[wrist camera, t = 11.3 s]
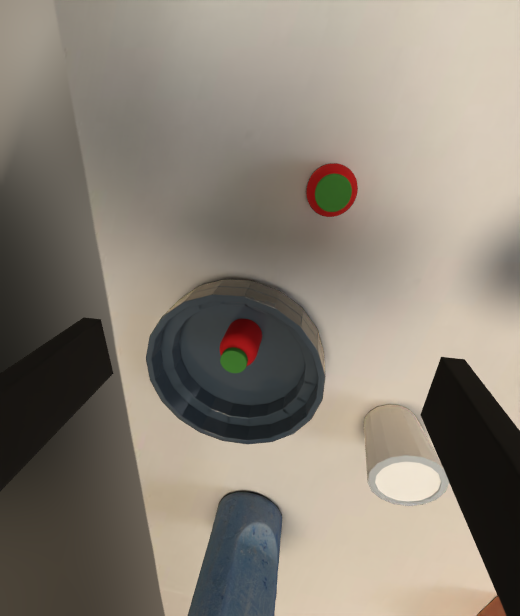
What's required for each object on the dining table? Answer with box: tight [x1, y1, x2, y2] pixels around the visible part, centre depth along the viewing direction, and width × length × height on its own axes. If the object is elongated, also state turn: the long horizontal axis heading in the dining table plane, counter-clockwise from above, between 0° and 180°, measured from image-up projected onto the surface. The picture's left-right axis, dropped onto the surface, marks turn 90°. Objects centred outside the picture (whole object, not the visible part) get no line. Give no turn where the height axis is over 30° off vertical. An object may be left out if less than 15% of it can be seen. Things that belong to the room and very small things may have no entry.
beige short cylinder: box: [364, 404, 449, 506], centre depth 30 cm, size 7×7×7 cm
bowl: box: [146, 279, 325, 444], centre depth 30 cm, size 17×17×4 cm
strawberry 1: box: [220, 319, 262, 373], centre depth 28 cm, size 4×4×5 cm
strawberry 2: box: [306, 164, 358, 217], centre depth 22 cm, size 4×4×5 cm
